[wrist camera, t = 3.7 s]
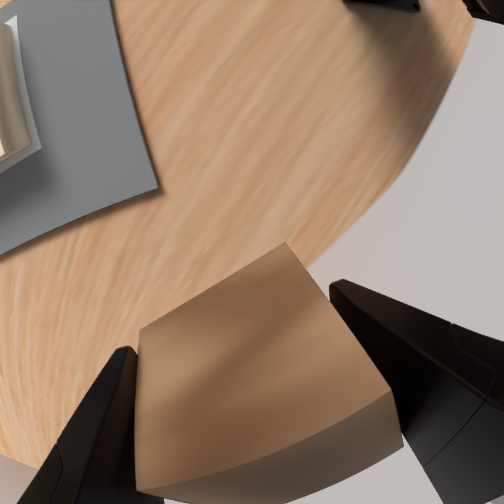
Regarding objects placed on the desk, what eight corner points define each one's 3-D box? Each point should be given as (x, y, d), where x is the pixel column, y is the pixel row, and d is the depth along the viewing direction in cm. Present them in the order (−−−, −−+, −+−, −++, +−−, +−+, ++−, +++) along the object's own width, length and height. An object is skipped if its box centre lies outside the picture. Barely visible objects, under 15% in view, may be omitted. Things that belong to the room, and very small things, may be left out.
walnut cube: (285, 241, 8) (391, 389, 4) (338, 340, 10) (404, 446, 6) (139, 330, 8) (136, 490, 4) (226, 400, 11) (256, 512, 6)
